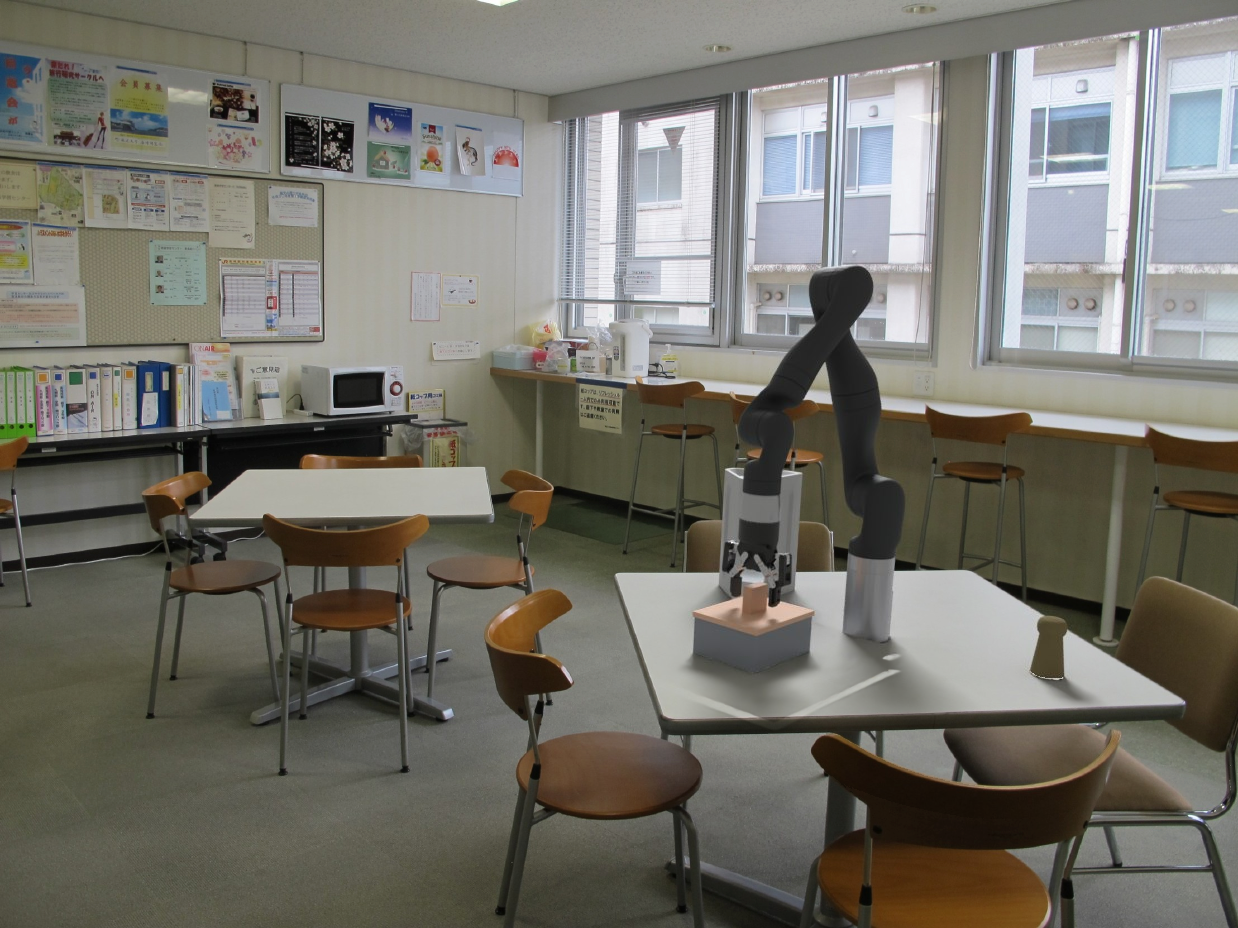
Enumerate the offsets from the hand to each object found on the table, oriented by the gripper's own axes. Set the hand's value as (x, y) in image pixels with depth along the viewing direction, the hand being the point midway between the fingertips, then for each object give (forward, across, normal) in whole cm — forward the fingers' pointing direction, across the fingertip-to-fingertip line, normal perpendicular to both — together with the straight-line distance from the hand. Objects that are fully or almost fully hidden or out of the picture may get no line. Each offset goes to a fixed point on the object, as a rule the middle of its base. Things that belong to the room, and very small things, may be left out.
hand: (754, 601), depth 188 cm
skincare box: (+11, +13, -16) cm, 23 cm away
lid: (+4, 0, 0) cm, 4 cm away
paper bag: (+11, +28, -37) cm, 48 cm away
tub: (+11, 0, 0) cm, 11 cm away
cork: (+11, -42, -35) cm, 56 cm away
